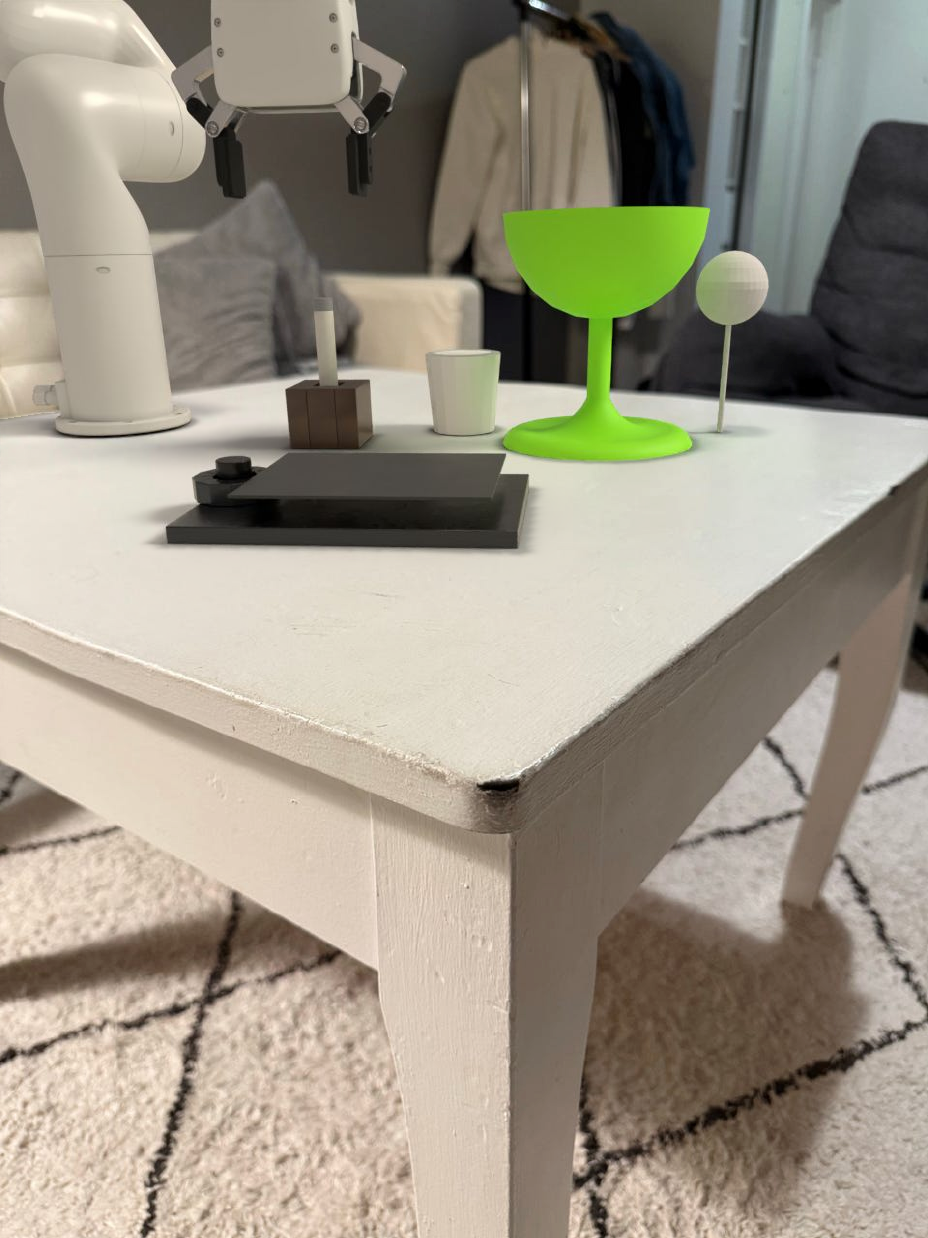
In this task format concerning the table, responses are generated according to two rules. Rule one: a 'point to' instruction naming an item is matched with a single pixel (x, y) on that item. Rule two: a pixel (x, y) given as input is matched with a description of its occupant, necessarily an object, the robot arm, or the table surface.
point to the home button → (233, 467)
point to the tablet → (351, 519)
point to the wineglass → (602, 312)
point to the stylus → (325, 341)
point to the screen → (377, 477)
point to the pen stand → (329, 414)
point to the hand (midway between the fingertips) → (296, 196)
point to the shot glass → (463, 390)
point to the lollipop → (731, 298)
